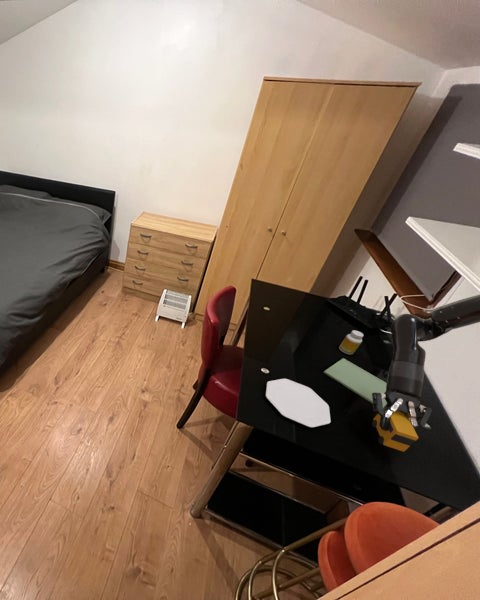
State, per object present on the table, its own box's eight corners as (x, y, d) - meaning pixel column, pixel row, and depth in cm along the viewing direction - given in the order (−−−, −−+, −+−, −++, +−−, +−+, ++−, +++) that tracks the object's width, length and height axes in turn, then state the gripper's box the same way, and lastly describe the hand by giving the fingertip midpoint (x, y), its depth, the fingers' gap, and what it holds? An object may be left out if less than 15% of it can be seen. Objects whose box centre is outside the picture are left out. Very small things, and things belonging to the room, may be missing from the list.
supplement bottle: (351, 356, 136) (364, 339, 131) (337, 349, 140) (348, 332, 134) (354, 351, 139) (367, 334, 134) (340, 344, 143) (352, 327, 137)
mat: (406, 396, 119) (407, 395, 119) (389, 414, 112) (390, 412, 111) (342, 359, 134) (343, 358, 134) (323, 372, 127) (324, 371, 127)
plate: (326, 397, 116) (328, 394, 115) (330, 438, 102) (332, 436, 101) (266, 374, 124) (268, 371, 123) (262, 410, 109) (264, 407, 108)
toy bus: (370, 421, 104) (384, 405, 99) (389, 427, 102) (405, 411, 98) (381, 448, 96) (397, 431, 91) (402, 455, 94) (419, 439, 90)
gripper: (384, 370, 97) (374, 426, 94) (444, 386, 92) (436, 446, 90) (369, 371, 104) (360, 423, 101) (424, 386, 99) (416, 441, 97)
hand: (395, 433), depth 95 cm, fingers closed on toy bus, 5 cm apart
